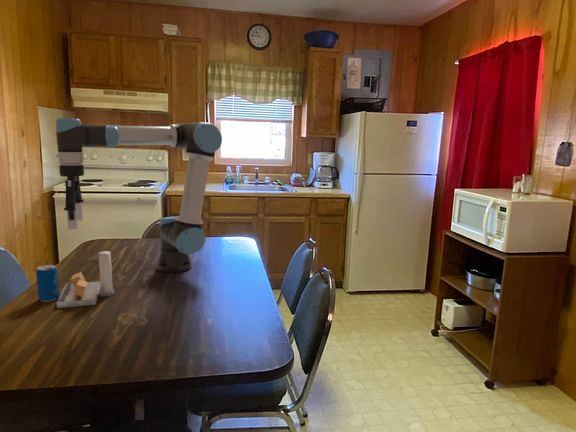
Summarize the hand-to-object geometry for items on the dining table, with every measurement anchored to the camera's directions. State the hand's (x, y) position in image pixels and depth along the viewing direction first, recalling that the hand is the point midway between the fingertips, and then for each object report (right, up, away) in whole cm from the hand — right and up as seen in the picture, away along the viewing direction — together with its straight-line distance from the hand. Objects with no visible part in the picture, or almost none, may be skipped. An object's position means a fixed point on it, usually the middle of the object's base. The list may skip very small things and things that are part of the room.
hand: (75, 224), depth 147 cm
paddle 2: (+1, -25, 0) cm, 25 cm away
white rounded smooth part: (+8, -26, +8) cm, 28 cm away
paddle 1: (-2, -23, +9) cm, 25 cm away
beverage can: (-10, -27, +2) cm, 29 cm away
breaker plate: (-1, -26, +5) cm, 27 cm away
